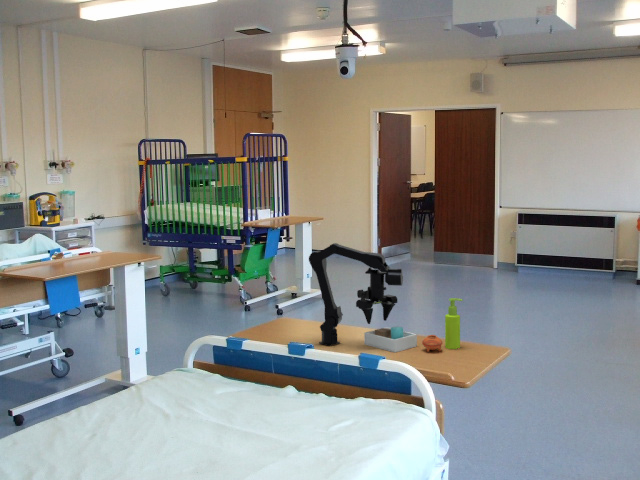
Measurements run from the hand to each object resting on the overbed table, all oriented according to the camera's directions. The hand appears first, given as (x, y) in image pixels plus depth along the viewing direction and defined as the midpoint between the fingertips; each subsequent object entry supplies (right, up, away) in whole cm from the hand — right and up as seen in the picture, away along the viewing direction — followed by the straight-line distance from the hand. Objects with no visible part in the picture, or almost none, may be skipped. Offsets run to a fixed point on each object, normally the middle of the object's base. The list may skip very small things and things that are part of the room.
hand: (376, 322), depth 265 cm
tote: (+6, -10, +1) cm, 11 cm away
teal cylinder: (+8, -9, -2) cm, 12 cm away
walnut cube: (+3, -9, +4) cm, 10 cm away
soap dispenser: (+31, -10, -4) cm, 33 cm away
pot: (+21, -11, -8) cm, 25 cm away
